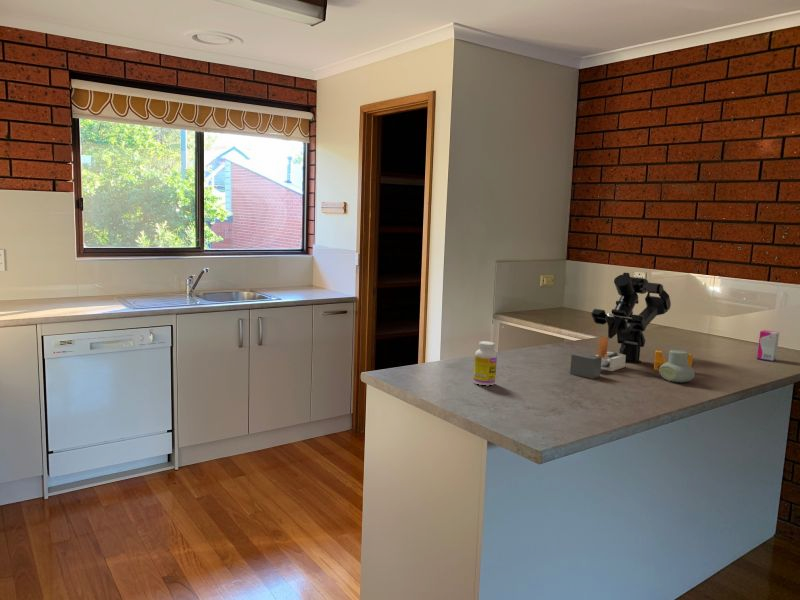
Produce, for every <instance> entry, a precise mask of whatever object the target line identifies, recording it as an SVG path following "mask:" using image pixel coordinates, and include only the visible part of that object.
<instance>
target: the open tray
mask: <svg viewBox="0 0 800 600" xmlns="http://www.w3.org/2000/svg"><path fill="white" fill-rule="evenodd" d="M611 353H614V352H612V351H607V354H611ZM616 353H617V352H616ZM617 354H618V355H619V356H616V357H613V358H610V365H606V366H603V367H601V370H605V371H610V372H613V371H617V370H619V369H622V368H625V366H626V362H625V359H626V355H624V354H619V352H618V353H617ZM594 355H595V356H598V354H594Z"/></svg>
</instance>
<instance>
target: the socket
mask: <svg viewBox="0 0 800 600" xmlns="http://www.w3.org/2000/svg"><path fill="white" fill-rule="evenodd" d="M595 355H596V354H594V355H593V354H589V353H584V352H577V353H573V354H571V358H570V368H569V369H570V370H569V374H570V375H573V376H579V377H583V378H587V379H591V380H593V379H596V378H598V377H599V378H600V377H601V371H602V369H601V360H602V357H600V356H595Z"/></svg>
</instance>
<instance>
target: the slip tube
mask: <svg viewBox="0 0 800 600" xmlns="http://www.w3.org/2000/svg"><path fill="white" fill-rule="evenodd" d="M598 341H599V343H598V353H597V355H598V356H600V357H602V360H601V367H603V366H606V365H610V358H613V357H616V356H619V355H618V354H617V352H613V353H611V354H607V352H608V343H609V337H606V336H600V337H599V339H598Z"/></svg>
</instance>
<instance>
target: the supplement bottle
mask: <svg viewBox="0 0 800 600" xmlns="http://www.w3.org/2000/svg"><path fill="white" fill-rule="evenodd" d="M495 346H496V345H495V342H493V341H487V340H486V341H482V340H481V341H479V343H478V347H479V348H478V350H476V351H475V354H474V365H473V367H474V368H473V384H475V385H477V384H479V385H478V386H481V385H486V386H485V387H490V386H489V385H492V386H494V385H495V383H496V376H497V375H496V373H497V363H498V362H497V360H498V359H497V358H498V354H497V352H496V351H494V348H495Z"/></svg>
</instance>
